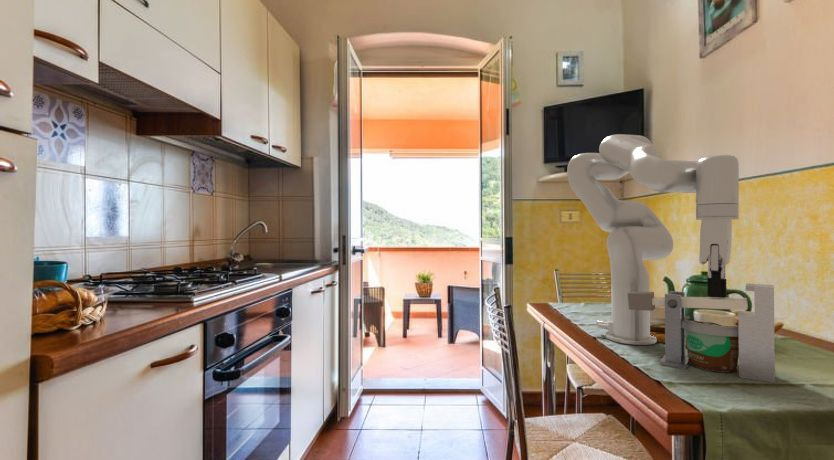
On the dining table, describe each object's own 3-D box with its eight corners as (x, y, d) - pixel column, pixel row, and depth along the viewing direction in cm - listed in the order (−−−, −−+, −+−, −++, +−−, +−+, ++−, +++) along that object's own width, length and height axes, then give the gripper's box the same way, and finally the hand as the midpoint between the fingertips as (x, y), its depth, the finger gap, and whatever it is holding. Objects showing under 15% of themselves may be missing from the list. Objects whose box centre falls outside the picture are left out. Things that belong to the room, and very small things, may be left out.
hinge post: (659, 364, 92) (659, 294, 93) (666, 356, 99) (665, 290, 99) (685, 369, 89) (685, 296, 89) (691, 360, 95) (690, 292, 95)
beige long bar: (628, 309, 99) (627, 293, 99) (632, 307, 101) (631, 291, 102) (747, 314, 84) (745, 295, 84) (748, 312, 87) (746, 293, 87)
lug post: (739, 376, 84) (738, 285, 84) (740, 370, 88) (739, 283, 88) (774, 383, 81) (773, 287, 81) (774, 376, 85) (773, 285, 85)
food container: (669, 360, 95) (668, 317, 95) (687, 357, 97) (687, 315, 97) (725, 377, 83) (724, 329, 83) (744, 373, 86) (744, 326, 86)
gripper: (700, 214, 97) (700, 291, 97) (691, 212, 86) (691, 299, 86) (740, 213, 92) (740, 294, 92) (736, 211, 81) (736, 303, 81)
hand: (716, 296), depth 89 cm, fingers closed
